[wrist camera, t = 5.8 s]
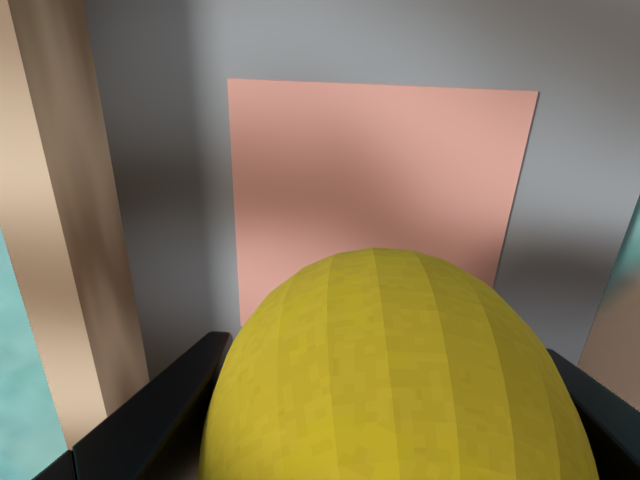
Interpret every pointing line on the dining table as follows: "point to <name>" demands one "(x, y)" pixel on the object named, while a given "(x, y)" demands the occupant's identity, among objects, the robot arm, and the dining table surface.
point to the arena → (302, 163)
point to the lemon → (390, 382)
